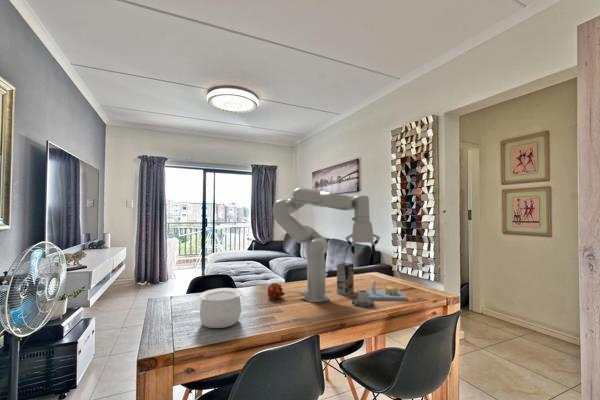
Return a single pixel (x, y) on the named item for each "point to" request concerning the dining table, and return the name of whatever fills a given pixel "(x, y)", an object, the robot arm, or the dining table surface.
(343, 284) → the coffee box
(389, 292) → the carrier
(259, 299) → the dining table surface
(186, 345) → the dining table surface
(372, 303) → the gear
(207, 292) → the pot
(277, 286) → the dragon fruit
